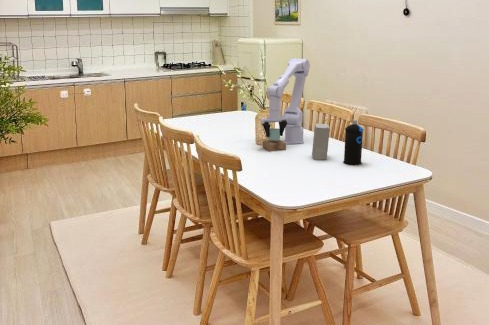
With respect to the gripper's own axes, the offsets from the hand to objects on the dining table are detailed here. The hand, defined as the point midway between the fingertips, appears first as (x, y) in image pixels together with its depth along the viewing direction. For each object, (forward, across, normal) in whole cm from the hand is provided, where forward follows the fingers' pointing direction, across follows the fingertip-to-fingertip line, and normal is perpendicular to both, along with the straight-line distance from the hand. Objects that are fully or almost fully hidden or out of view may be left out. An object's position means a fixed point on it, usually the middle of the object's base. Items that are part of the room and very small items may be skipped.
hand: (274, 136), depth 265 cm
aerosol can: (+7, -20, +38) cm, 44 cm away
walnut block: (+7, 0, 0) cm, 7 cm away
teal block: (+1, 0, 0) cm, 1 cm away
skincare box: (+7, -12, +24) cm, 28 cm away
